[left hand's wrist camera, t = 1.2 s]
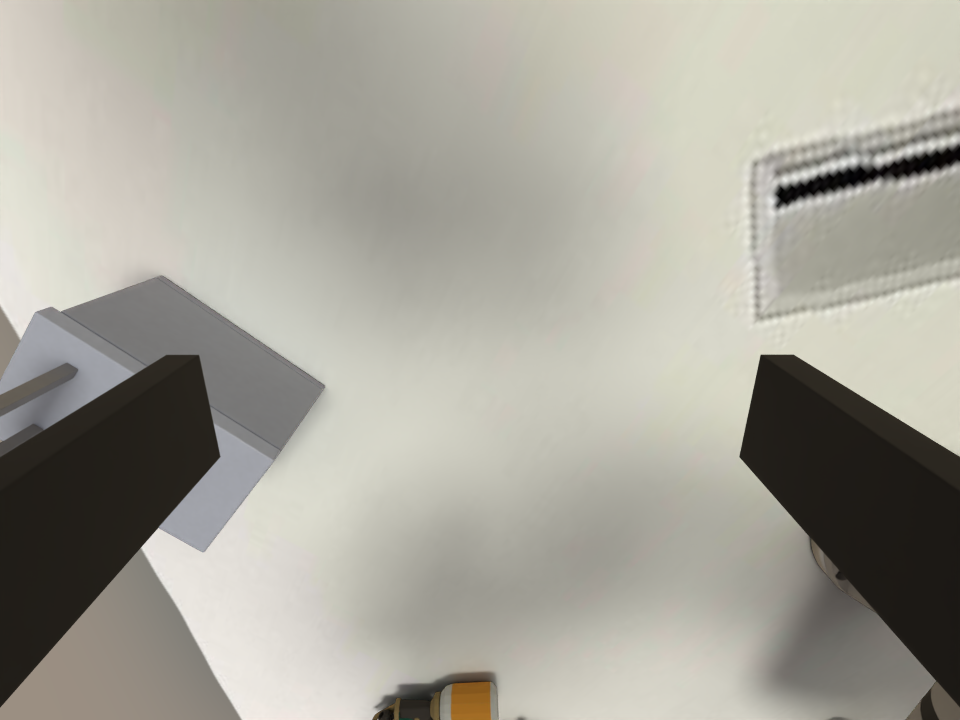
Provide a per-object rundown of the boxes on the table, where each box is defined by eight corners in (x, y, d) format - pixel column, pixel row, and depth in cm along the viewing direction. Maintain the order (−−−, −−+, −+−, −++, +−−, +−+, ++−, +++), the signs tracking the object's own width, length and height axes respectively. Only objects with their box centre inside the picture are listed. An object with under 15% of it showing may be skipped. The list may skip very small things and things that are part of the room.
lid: (-7, 417, 31) (-184, 510, 23) (51, 305, 29) (-124, 364, 20) (212, 540, 35) (126, 661, 26) (281, 450, 32) (211, 552, 24)
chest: (110, 362, 41) (2, 421, 32) (161, 274, 38) (61, 310, 29) (268, 461, 44) (212, 540, 35) (325, 386, 41) (281, 450, 32)
